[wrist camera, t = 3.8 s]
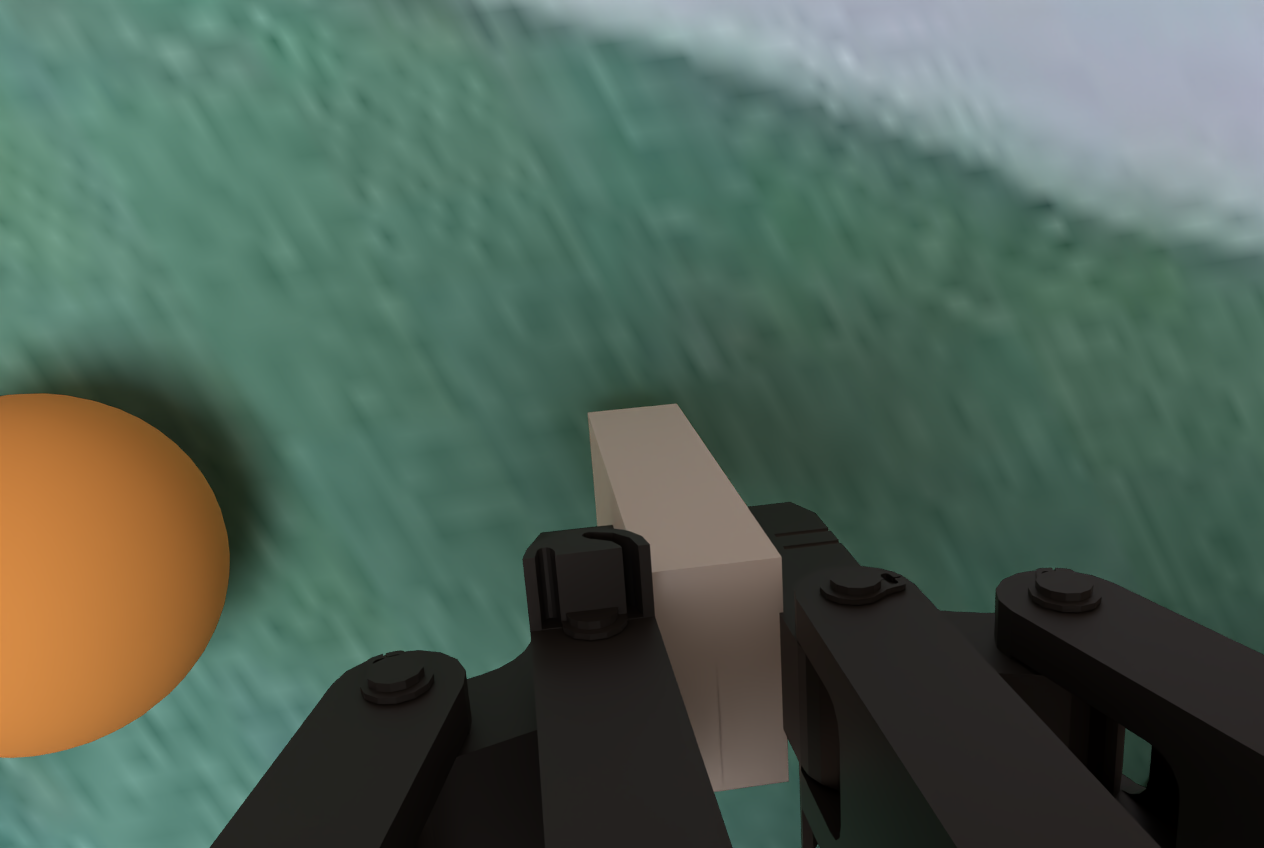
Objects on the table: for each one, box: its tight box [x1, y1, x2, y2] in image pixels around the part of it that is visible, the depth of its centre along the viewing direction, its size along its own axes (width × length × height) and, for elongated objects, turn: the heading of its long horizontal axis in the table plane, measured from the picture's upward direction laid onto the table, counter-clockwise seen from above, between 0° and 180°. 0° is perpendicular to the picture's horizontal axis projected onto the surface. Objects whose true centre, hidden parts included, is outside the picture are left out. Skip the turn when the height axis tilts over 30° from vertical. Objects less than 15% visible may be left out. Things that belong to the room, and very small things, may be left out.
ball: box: [0, 393, 230, 758], centre depth 16 cm, size 6×6×6 cm
